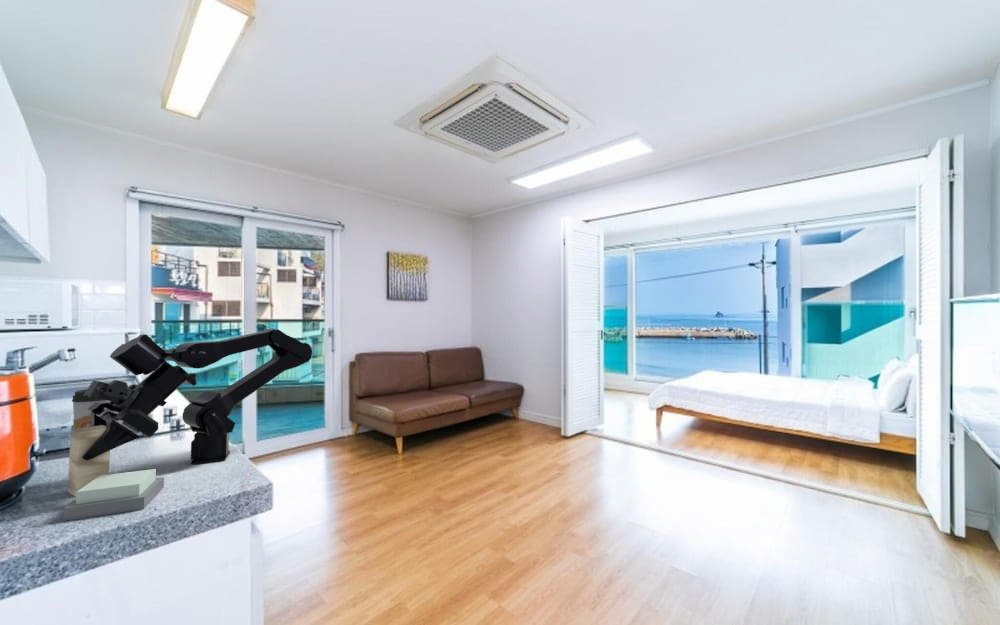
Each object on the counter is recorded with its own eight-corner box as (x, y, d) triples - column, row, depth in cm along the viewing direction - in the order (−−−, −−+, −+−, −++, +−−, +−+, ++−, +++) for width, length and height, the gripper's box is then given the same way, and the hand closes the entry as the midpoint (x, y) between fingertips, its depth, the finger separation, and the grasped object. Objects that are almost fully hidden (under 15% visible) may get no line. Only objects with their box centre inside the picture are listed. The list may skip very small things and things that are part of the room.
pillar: (99, 483, 79) (102, 424, 79) (108, 488, 77) (110, 427, 77) (67, 491, 75) (70, 429, 75) (75, 496, 73) (78, 433, 73)
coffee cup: (62, 457, 94) (64, 393, 95) (78, 448, 102) (81, 388, 102) (109, 452, 98) (111, 391, 99) (122, 443, 106) (124, 386, 106)
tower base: (163, 487, 77) (164, 466, 77) (144, 508, 68) (144, 485, 68) (94, 496, 73) (95, 474, 73) (63, 520, 64) (64, 495, 64)
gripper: (102, 362, 85) (20, 426, 75) (139, 367, 75) (51, 440, 65) (148, 394, 91) (78, 457, 81) (187, 402, 82) (113, 474, 72)
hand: (79, 456), depth 75 cm, fingers open, 5 cm apart
